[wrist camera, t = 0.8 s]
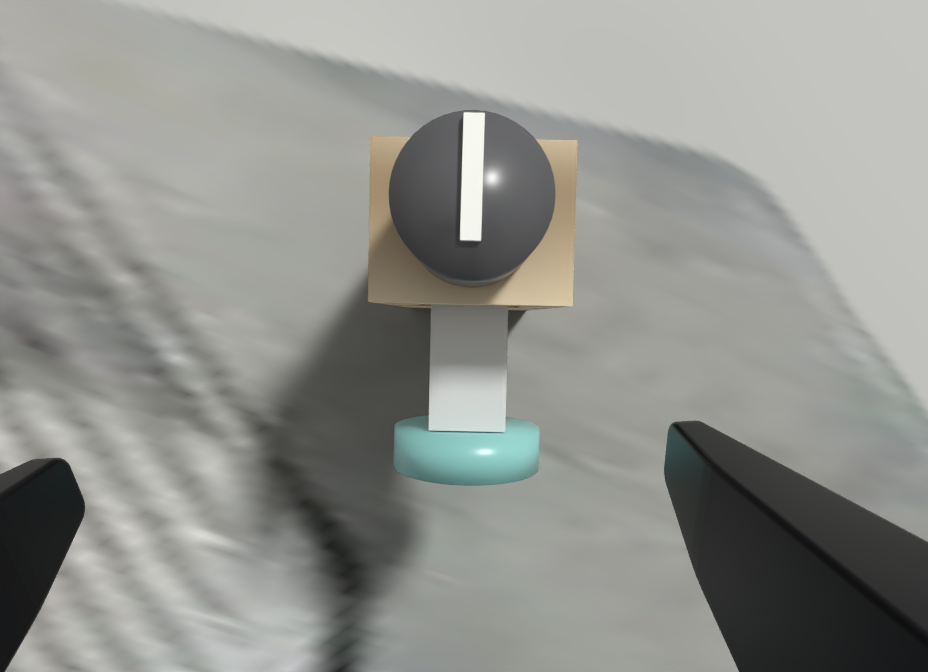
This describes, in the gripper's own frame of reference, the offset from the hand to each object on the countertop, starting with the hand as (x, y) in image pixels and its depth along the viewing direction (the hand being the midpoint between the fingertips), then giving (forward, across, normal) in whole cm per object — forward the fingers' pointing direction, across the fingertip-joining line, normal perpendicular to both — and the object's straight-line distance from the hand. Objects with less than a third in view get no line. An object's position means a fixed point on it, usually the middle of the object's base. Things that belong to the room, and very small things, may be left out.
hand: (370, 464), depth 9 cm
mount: (+17, -2, +2) cm, 17 cm away
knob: (+11, -2, +4) cm, 11 cm away
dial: (+7, -2, -2) cm, 7 cm away
